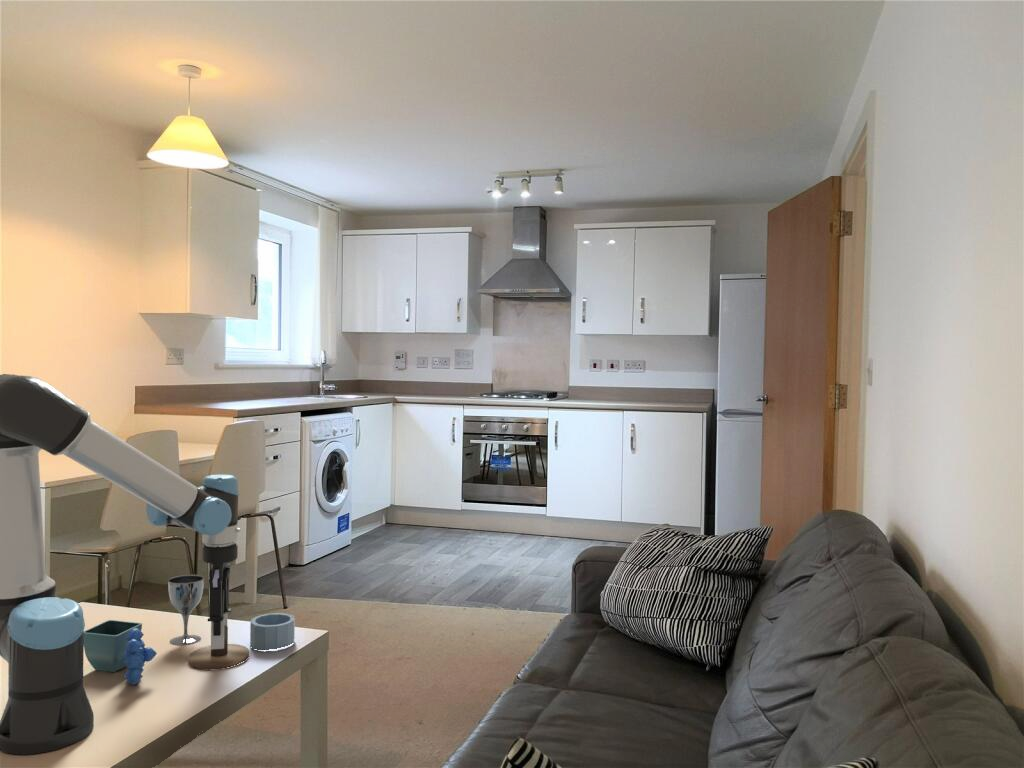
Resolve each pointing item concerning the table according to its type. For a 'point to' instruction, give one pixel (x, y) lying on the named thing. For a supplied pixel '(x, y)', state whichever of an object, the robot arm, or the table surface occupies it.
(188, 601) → the wine glass
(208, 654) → the lid
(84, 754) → the table surface
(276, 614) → the bowl
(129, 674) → the grapes
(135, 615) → the table surface
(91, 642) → the flower pot
